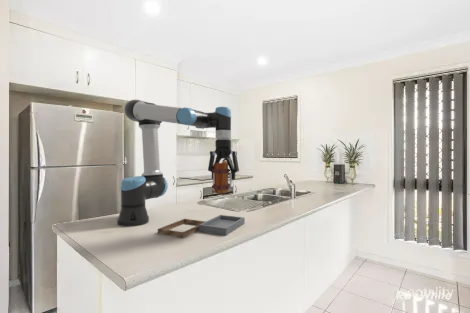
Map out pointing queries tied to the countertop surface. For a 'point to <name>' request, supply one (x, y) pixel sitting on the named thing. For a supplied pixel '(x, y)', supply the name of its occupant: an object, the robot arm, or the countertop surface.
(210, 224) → the tray
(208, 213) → the countertop surface
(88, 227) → the countertop surface
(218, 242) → the countertop surface
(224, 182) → the mug
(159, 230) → the wooden picture frame
